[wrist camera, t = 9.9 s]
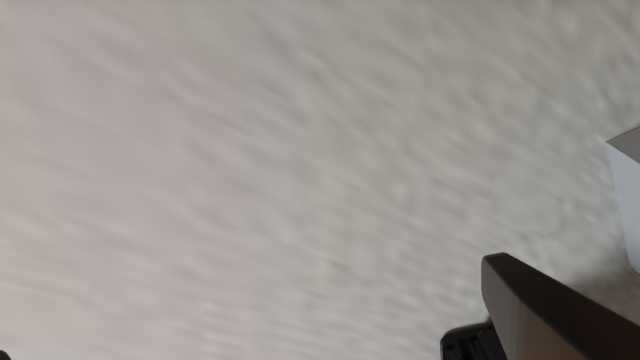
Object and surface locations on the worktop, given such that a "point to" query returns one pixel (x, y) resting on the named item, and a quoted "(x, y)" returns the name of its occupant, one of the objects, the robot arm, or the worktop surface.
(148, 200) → the worktop surface
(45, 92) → the worktop surface
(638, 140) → the slate-grey brick
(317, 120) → the worktop surface
